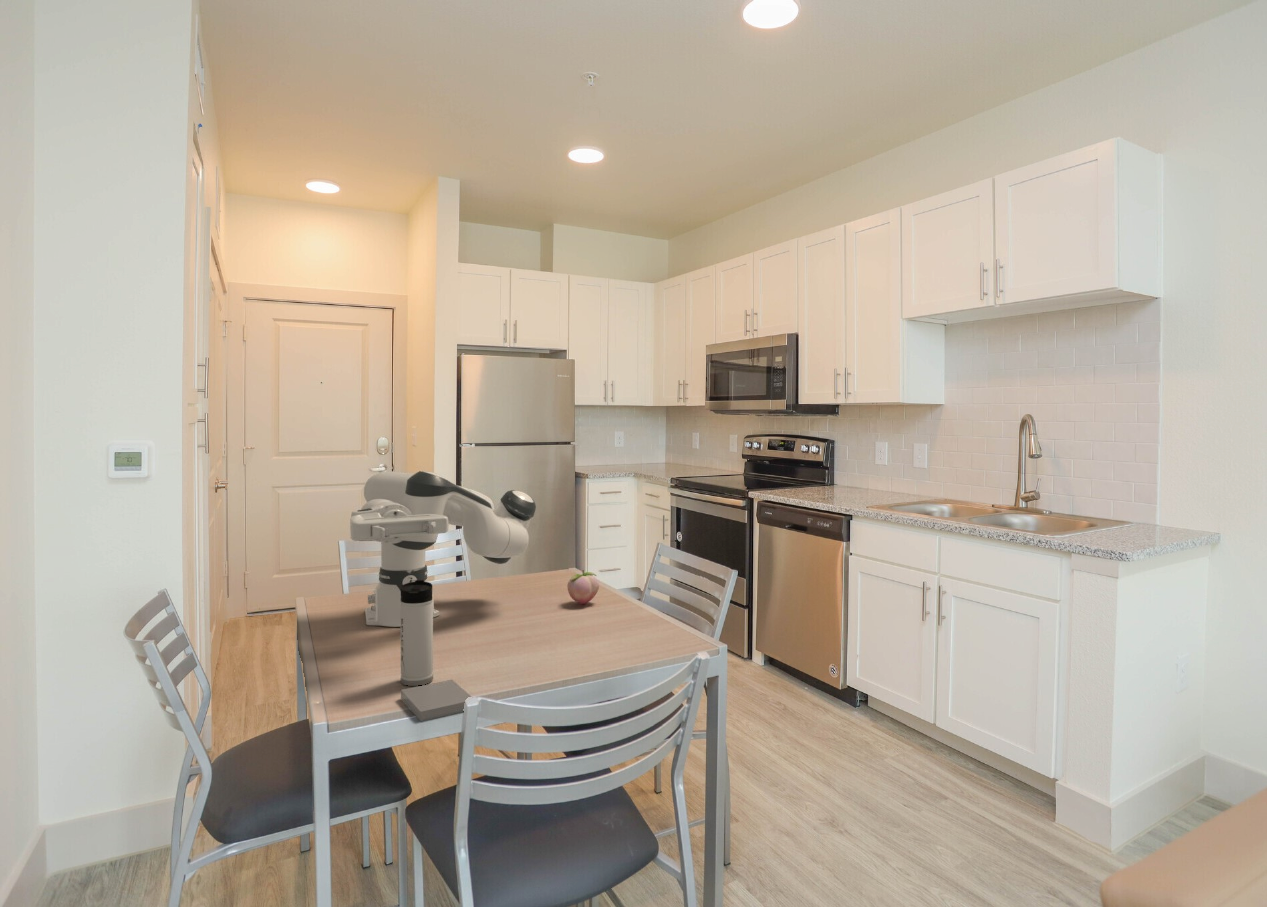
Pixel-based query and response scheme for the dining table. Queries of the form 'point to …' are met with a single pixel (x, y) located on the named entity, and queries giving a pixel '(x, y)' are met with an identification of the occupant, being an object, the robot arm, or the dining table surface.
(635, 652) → the dining table surface
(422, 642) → the travel mug
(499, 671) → the dining table surface
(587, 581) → the decorative fruit
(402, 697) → the tile
